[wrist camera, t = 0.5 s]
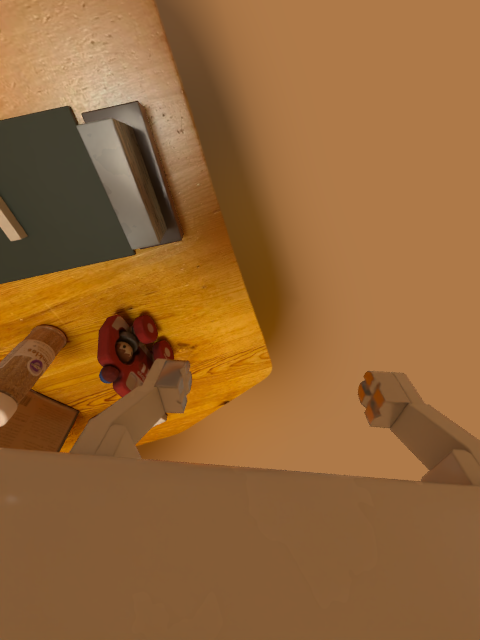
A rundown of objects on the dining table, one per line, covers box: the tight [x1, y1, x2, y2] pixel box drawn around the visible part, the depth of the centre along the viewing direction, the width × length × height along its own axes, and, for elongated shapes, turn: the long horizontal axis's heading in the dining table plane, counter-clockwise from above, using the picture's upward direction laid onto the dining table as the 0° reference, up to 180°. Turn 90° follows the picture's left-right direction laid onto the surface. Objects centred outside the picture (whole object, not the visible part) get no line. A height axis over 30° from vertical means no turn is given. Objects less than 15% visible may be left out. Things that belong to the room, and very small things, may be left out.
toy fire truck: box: [97, 315, 174, 397], centre depth 33 cm, size 7×12×10 cm, turn 19°
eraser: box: [76, 101, 184, 250], centre depth 22 cm, size 12×5×8 cm, turn 10°
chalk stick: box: [0, 196, 28, 241], centre depth 25 cm, size 5×1×1 cm, turn 10°
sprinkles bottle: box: [0, 325, 67, 427], centre depth 29 cm, size 5×5×14 cm
